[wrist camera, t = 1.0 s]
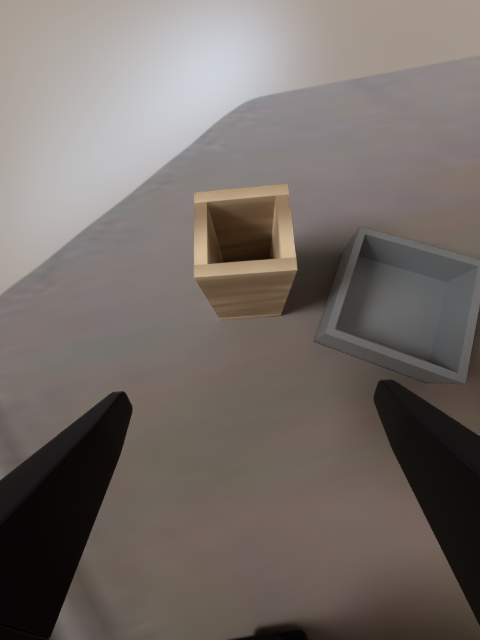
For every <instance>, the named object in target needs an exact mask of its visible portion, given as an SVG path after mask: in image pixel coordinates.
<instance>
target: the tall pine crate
mask: <svg viewBox="0 0 480 640" xmlns="http://www.w3.org/2000/svg"><path fill="white" fill-rule="evenodd" d="M296 273H297V262H296V253H295V245H294V236H293V228H292V219H291V210H290V202H289V193H288V185H287V184H280V185H269V186H259V187H249V188H238V189H228V190H217V191H207V192H196V193H195V195H194V278H195V280H196V281H197V283H198V285H199V286H200V288H201V289H202V291H203V293H204V294H205V296H206V297H207V299H208V301H209V302H210V304H211V305H212V307H213V309H214V310H215V312H216V313H217V315H218V317H219V318H220V320H224V319H240V318H257V317H273V316H281V314H282V311H283V308H284V305H285V303H286V300H287V297H288V294H289V292H290V289H291V286H292V283H293V281H294V278H295V275H296Z"/></svg>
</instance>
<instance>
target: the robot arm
mask: <svg viewBox="0 0 480 640" xmlns="http://www.w3.org/2000/svg"><path fill="white" fill-rule="evenodd" d="M374 403H375V406H376V408H377V411H378V414H379V416H380V419H381V422H382V424H383V427H384V430H385V432H386V435H387V438H388V440H389V443H390V445H391V448H392V450H393V452H394V454H395V456H396V458H397V460H398V462H399V464H400V466H401V468H402V470H403V472H404V474H405V476H406V478H407V480H408V482H409V484H410V486H411V488H412V490H413V492H414V494H415V496H416V498H417V500H418V502H419V504H420V506H421V508H422V510H423V513H424V515H425V517H426V519H427V521H428V523H429V525H430V527H431V529H432V531H433V533H434V535H435V537H436V539H437V541H438V543H439V545H440V547H441V549H442V551H443V553H444V555H445V557H446V559H447V561H448V563H449V565H450V567H451V569H452V571H453V573H454V575H455V577H456V579H457V581H458V583H459V585H460V587H461V589H462V591H463V593H464V595H465V597H466V599H467V601H468V603H469V605H470V607H471V609H472V611H473V613H474V615H475V617H476V619H477V621H478V623H479V625H480V436H479V435H477V434H476V433H474V432H472V431H471V430H469V429H468V428H466V427H465V426H463V425H462V424H460V423H459V422H457V421H456V420H454V419H453V418H451V417H449V416H448V415H446V414H445V413H443V412H442V411H440V410H439V409H437V408H436V407H434V406H433V405H431V404H430V403H428V402H426V401H425V400H423V399H422V398H420V397H419V396H417V395H416V394H414V393H413V392H411V391H410V390H408V389H407V388H405V387H404V386H402V385H400V384H399V383H397V382H396V381H394V380H380V381H379V382H378V384H377V387H376V391H375V394H374ZM131 415H132V405H131V403H130V401H129V398H128V396H127V394H126V393H125V392H123V391H121V392H112V393H111V394H109V395H108V396H107V397H105V398H104V399H103V400H102V401H100V402H99V403H98V404H97V405H95V406H94V407H93V408H91V409H90V410H89V411H88V412H86V413H85V414H84V415H83V416H81V417H80V418H79V419H77V420H76V421H75V422H74V423H72V424H71V425H70V426H69V427H67V428H66V429H65V430H64V431H62V432H61V433H60V434H58V435H57V436H56V437H55V438H53V439H52V440H51V441H50V442H48V443H47V444H46V445H44V446H43V447H42V448H41V449H39V450H38V451H37V452H36V453H34V454H33V455H32V456H30V457H29V458H28V459H27V460H25V461H24V462H23V463H22V464H20V465H19V466H18V467H16V468H15V469H14V470H13V471H11V472H10V473H9V474H8V475H6V476H5V477H4V478H2V479H1V480H0V640H49V638H50V636H51V634H52V632H53V629H54V626H55V624H56V621H57V619H58V616H59V613H60V611H61V608H62V606H63V603H64V600H65V598H66V595H67V593H68V590H69V587H70V585H71V582H72V580H73V577H74V574H75V572H76V569H77V566H78V564H79V561H80V559H81V556H82V553H83V551H84V548H85V546H86V543H87V540H88V538H89V535H90V533H91V530H92V527H93V525H94V522H95V520H96V517H97V514H98V512H99V509H100V507H101V504H102V501H103V499H104V496H105V494H106V491H107V488H108V486H109V483H110V481H111V478H112V475H113V473H114V470H115V468H116V465H117V462H118V460H119V457H120V454H121V451H122V447H123V444H124V440H125V437H126V433H127V429H128V426H129V422H130V419H131ZM248 640H308V638H307V635H306V634H305V633H304V632H303V631H293V632H288V633H282V634H276V635H271V636H265V637H259V638H254V639H248Z"/></svg>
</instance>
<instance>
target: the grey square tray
mask: <svg viewBox="0 0 480 640" xmlns="http://www.w3.org/2000/svg"><path fill="white" fill-rule="evenodd" d="M479 307H480V260H478V259H475V258H471V257H468V256H464V255H461V254H457V253H453V252H450V251H446V250H443V249H439V248H435V247H432V246H428V245H425V244H421V243H418V242H414V241H410V240H407V239H403V238H400V237H396V236H392V235H389V234H385V233H382V232H378V231H375V230H371V229H367V228H364V227H359V229H358V230H357V232H356V233H355V235H354V236H353V238H352V239H351V240H350V242H349V243H348V245H347V246H346V248H345V249H344V251H343V254H342V257H341V260H340V263H339V266H338V269H337V272H336V275H335V278H334V281H333V284H332V287H331V290H330V293H329V296H328V299H327V302H326V305H325V308H324V311H323V314H322V317H321V320H320V323H319V326H318V329H317V332H316V335H315V338H314V342H316V343H319V344H322V345H324V346H327V347H330V348H332V349H335V350H338V351H341V352H343V353H346V354H349V355H351V356H354V357H357V358H360V359H362V360H365V361H368V362H370V363H373V364H376V365H379V366H381V367H384V368H387V369H389V370H392V371H395V372H397V373H400V374H403V375H406V376H408V377H411V378H414V379H416V380H419V381H422V382H425V383H445V384H465V383H466V378H467V372H468V367H469V361H470V356H471V351H472V345H473V340H474V334H475V329H476V323H477V318H478V312H479Z"/></svg>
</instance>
